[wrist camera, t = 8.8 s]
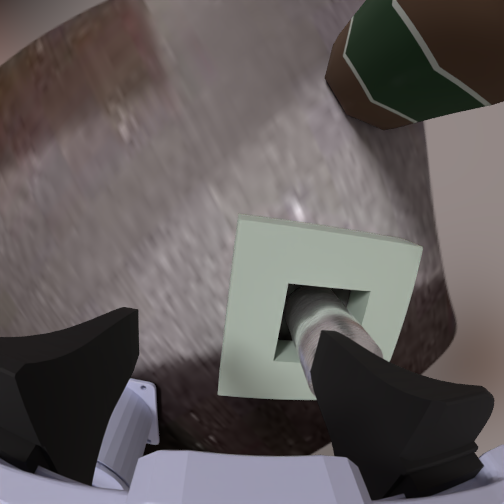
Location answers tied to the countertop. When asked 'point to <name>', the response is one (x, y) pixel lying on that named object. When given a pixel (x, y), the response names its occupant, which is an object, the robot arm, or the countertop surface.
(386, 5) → the beer bottle
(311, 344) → the steel peg
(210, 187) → the countertop surface
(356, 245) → the hole block
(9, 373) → the robot arm
